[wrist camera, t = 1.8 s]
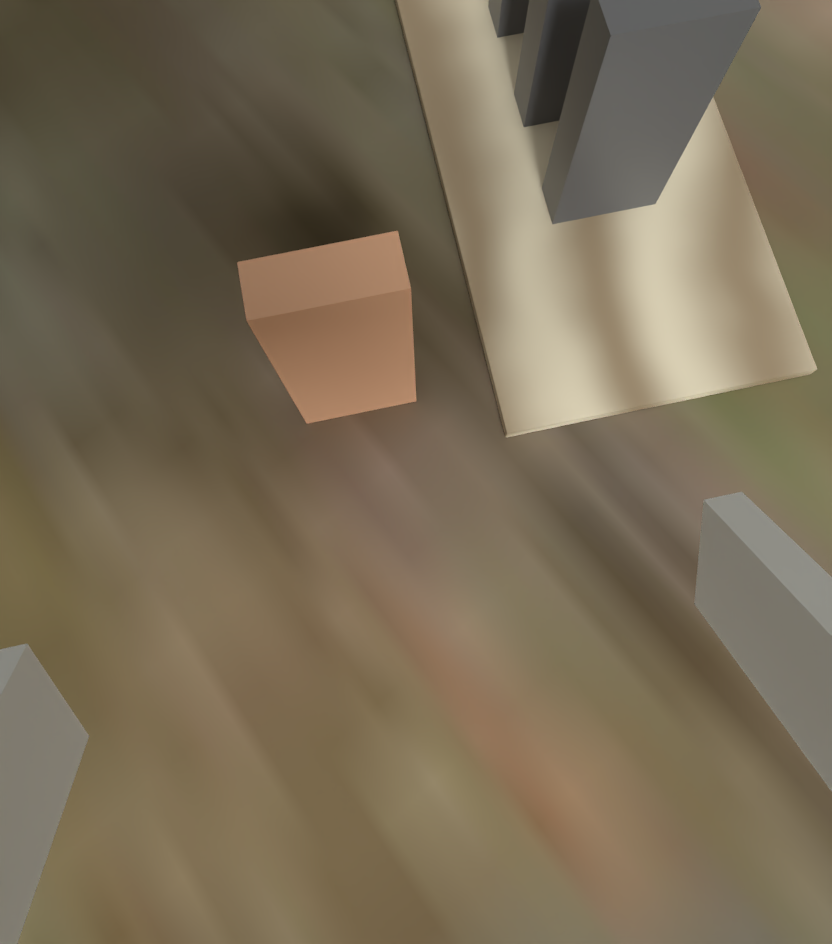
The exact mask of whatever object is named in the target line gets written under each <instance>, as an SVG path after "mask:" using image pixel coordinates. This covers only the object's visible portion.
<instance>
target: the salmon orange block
mask: <svg viewBox="0 0 832 944" xmlns="http://www.w3.org/2000/svg"><path fill="white" fill-rule="evenodd" d="M237 265H238V271H239V277H240V283H241V289H242V296H243V302H244V308H245V314H246V320H247V323H248V324H249V326H250V328H251V329H252V331H253V333H254V334H255V336H256V338H257V340H258V341H259V343H260V345H261V346H262V348H263V350H264V351H265V353H266V355H267V357H268V358H269V360H270V362H271V363H272V365H273V367H274V369H275V370H276V372H277V374H278V375H279V377H280V379H281V380H282V382H283V384H284V386H285V387H286V389H287V391H288V392H289V394H290V396H291V397H292V399H293V401H294V403H295V404H296V406H297V408H298V409H299V411H300V413H301V415H302V416H303V418H304V420H305V421H306V423H307V424H308V423H313V422H318V421H323V420H327V419H332V418H337V417H342V416H347V415H352V414H357V413H362V412H366V411H371V410H376V409H381V408H386V407H391V406H396V405H401V404H406V403H410V402H415V401H416V383H415V362H414V341H413V320H412V299H411V286H410V282H409V277H408V273H407V269H406V264H405V260H404V256H403V251H402V247H401V243H400V238H399V234H398V231H393V232H388V233H383V234H378V235H373V236H368V237H363V238H358V239H353V240H348V241H342V242H337V243H332V244H327V245H322V246H317V247H312V248H307V249H302V250H297V251H291V252H286V253H281V254H276V255H271V256H266V257H261V258H256V259H251V260H246V261H240V262H237Z"/></svg>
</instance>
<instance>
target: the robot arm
mask: <svg viewBox="0 0 832 944" xmlns="http://www.w3.org/2000/svg"><path fill="white" fill-rule="evenodd" d="M694 604H695V606H696V607H697V608H698V610H699V611H700V613H701V614H702V615H703V617H704V618H705V619H706V621H707V622H708V623H709V625H710V626H711V628H712V629H713V630H714V632H715V633H716V634H717V636H718V637H719V638H720V640H721V641H722V643H723V644H724V645H725V647H726V648H727V649H728V651H729V652H730V653H731V655H732V656H733V658H734V659H735V660H736V662H737V663H738V664H739V666H740V667H741V668H742V670H743V671H744V673H745V674H746V675H747V677H748V678H749V679H750V681H751V682H752V683H753V685H754V686H755V688H756V689H757V690H758V692H759V693H760V694H761V696H762V697H763V698H764V700H765V701H766V703H767V704H768V705H769V707H770V708H771V709H772V711H773V712H774V713H775V715H776V716H777V718H778V719H779V720H780V722H781V723H782V724H783V726H784V727H785V729H786V730H787V731H788V733H789V734H790V735H791V737H792V738H793V739H794V741H795V742H796V744H797V745H798V746H799V748H800V749H801V750H802V752H803V753H804V754H805V756H806V757H807V759H808V760H809V761H810V763H811V764H812V765H813V767H814V768H815V769H816V771H817V772H818V774H819V775H820V776H821V778H822V779H823V780H824V782H825V783H826V784H827V786H828V787H829V789H830V790H831V791H832V577H831V576H830V575H829V574H828V573H827V572H826V571H825V570H824V569H823V568H822V567H820V566H819V565H818V564H817V563H816V562H815V561H814V560H813V559H812V558H811V557H810V556H809V555H808V554H807V553H806V552H805V551H804V550H803V549H802V548H800V547H799V546H798V545H797V544H796V543H795V542H794V541H793V540H792V539H791V538H790V537H789V536H788V535H787V534H786V533H785V532H784V531H783V530H782V529H780V528H779V527H778V526H777V525H776V524H775V523H774V522H773V521H772V520H771V519H770V518H769V517H768V516H767V515H766V514H765V513H764V512H763V511H762V510H760V509H759V508H758V507H757V506H756V505H755V504H754V503H753V502H752V501H751V500H750V499H749V498H748V497H747V496H746V495H745V494H744V493H743V492H738V493H734V494H729V495H724V496H720V497H715V498H710V499H706V500H704V503H703V514H702V525H701V536H700V547H699V559H698V570H697V581H696V592H695V603H694ZM88 738H89V735H88V734H87V732H86V731H85V729H84V728H83V726H82V725H81V723H80V722H79V720H78V719H77V717H76V716H75V714H74V713H73V711H72V710H71V708H70V707H69V705H68V704H67V702H66V701H65V699H64V698H63V696H62V695H61V693H60V692H59V690H58V689H57V687H56V686H55V684H54V683H53V681H52V680H51V678H50V677H49V675H48V674H47V672H46V671H45V669H44V668H43V666H42V665H41V664H40V662H39V661H38V659H37V658H36V656H35V655H34V653H33V652H32V650H31V649H30V647H29V646H28V644H24V645H19V646H14V647H9V648H5V649H0V944H17V943H18V940H19V937H20V934H21V931H22V928H23V926H24V923H25V920H26V917H27V914H28V911H29V908H30V905H31V902H32V900H33V897H34V894H35V891H36V888H37V885H38V882H39V879H40V876H41V874H42V871H43V868H44V865H45V862H46V859H47V856H48V853H49V850H50V848H51V845H52V842H53V839H54V836H55V833H56V830H57V827H58V824H59V821H60V819H61V816H62V813H63V810H64V807H65V804H66V801H67V798H68V795H69V793H70V790H71V787H72V784H73V781H74V778H75V775H76V772H77V769H78V767H79V764H80V761H81V758H82V755H83V752H84V749H85V746H86V743H87V741H88Z"/></svg>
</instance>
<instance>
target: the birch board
mask: <svg viewBox="0 0 832 944" xmlns="http://www.w3.org/2000/svg"><path fill="white" fill-rule="evenodd" d="M395 3H396V7H397V11H398V15H399V19H400V23H401V27H402V31H403V35H404V39H405V43H406V46H407V50H408V54H409V58H410V62H411V66H412V70H413V74H414V78H415V82H416V86H417V90H418V94H419V98H420V102H421V106H422V110H423V114H424V118H425V122H426V125H427V129H428V133H429V137H430V141H431V145H432V149H433V153H434V157H435V161H436V165H437V169H438V173H439V177H440V181H441V185H442V189H443V193H444V197H445V200H446V204H447V208H448V212H449V216H450V220H451V224H452V228H453V232H454V236H455V240H456V244H457V248H458V252H459V256H460V260H461V264H462V268H463V272H464V276H465V279H466V283H467V287H468V291H469V295H470V299H471V303H472V307H473V311H474V315H475V319H476V323H477V327H478V331H479V335H480V339H481V343H482V347H483V351H484V354H485V358H486V362H487V366H488V370H489V374H490V378H491V382H492V386H493V390H494V394H495V398H496V402H497V406H498V410H499V414H500V418H501V422H502V426H503V429H504V433H505V437H511V436H515V435H520V434H525V433H530V432H535V431H540V430H544V429H549V428H554V427H559V426H564V425H568V424H573V423H578V422H583V421H588V420H593V419H597V418H602V417H607V416H612V415H617V414H621V413H626V412H631V411H636V410H641V409H646V408H650V407H655V406H660V405H665V404H670V403H674V402H679V401H684V400H689V399H694V398H699V397H703V396H708V395H713V394H718V393H723V392H728V391H732V390H737V389H742V388H747V387H752V386H756V385H761V384H766V383H771V382H776V381H781V380H785V379H790V378H795V377H800V376H805V375H809V374H811V373H812V372H814V371H815V370H817V367H816V365H815V362H814V359H813V357H812V354H811V352H810V349H809V346H808V344H807V341H806V339H805V336H804V333H803V331H802V328H801V325H800V323H799V320H798V318H797V315H796V312H795V310H794V307H793V304H792V302H791V299H790V297H789V294H788V291H787V289H786V286H785V283H784V281H783V278H782V276H781V273H780V270H779V268H778V265H777V263H776V260H775V257H774V255H773V252H772V249H771V247H770V244H769V242H768V239H767V236H766V234H765V231H764V228H763V226H762V223H761V221H760V218H759V215H758V213H757V210H756V208H755V205H754V202H753V200H752V197H751V194H750V192H749V189H748V187H747V184H746V181H745V179H744V176H743V173H742V171H741V168H740V166H739V163H738V160H737V158H736V155H735V153H734V150H733V147H732V145H731V142H730V139H729V137H728V134H727V132H726V129H725V126H724V124H723V121H722V118H721V116H720V113H719V111H718V108H717V105H716V103H715V100H714V97H713V98H712V100H711V102H710V103H709V105H708V107H707V109H706V111H705V113H704V115H703V117H702V118H701V120H700V122H699V124H698V126H697V128H696V130H695V131H694V133H693V135H692V137H691V139H690V141H689V143H688V144H687V146H686V148H685V150H684V152H683V154H682V156H681V157H680V159H679V161H678V163H677V165H676V167H675V169H674V170H673V172H672V174H671V176H670V178H669V180H668V182H667V184H666V185H665V187H664V189H663V191H662V193H661V195H660V197H659V198H658V200H657V202H656V204H653V205H648V206H643V207H638V208H633V209H628V210H623V211H618V212H613V213H608V214H603V215H598V216H592V217H587V218H582V219H577V220H572V221H567V222H562V223H557V224H552V221H551V218H550V215H549V211H548V208H547V204H546V201H545V198H544V194H543V191H542V185H543V181H544V177H545V173H546V170H547V166H548V162H549V158H550V154H551V150H552V147H553V143H554V139H555V135H556V131H557V127H558V123H559V121H554V122H549V123H544V124H538V125H533V126H528V127H523V123H522V120H521V116H520V113H519V110H518V106H517V103H516V99H515V96H514V90H515V84H516V78H517V72H518V65H519V59H520V53H521V47H522V41H523V35H524V33H520V34H515V35H509V36H504V37H499V38H497V35H496V32H495V28H494V25H493V21H492V18H491V15H490V11H489V8H488V4H489V0H395Z"/></svg>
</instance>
